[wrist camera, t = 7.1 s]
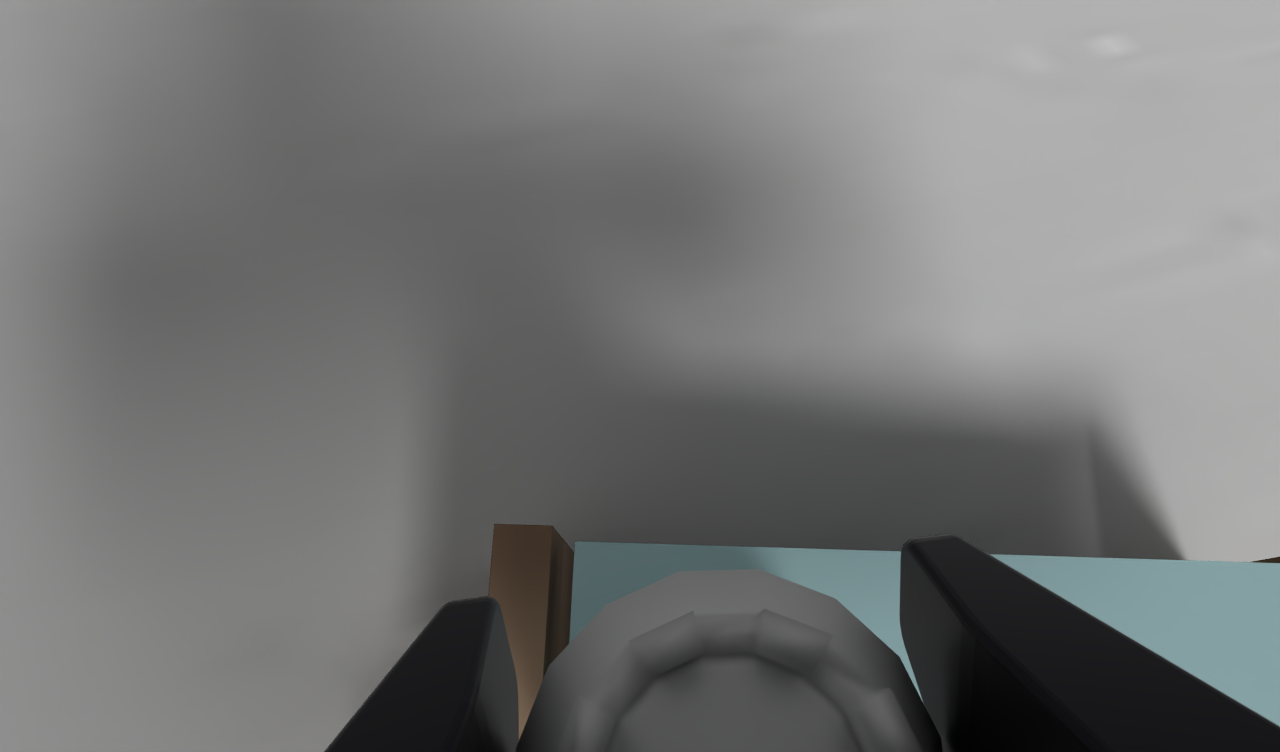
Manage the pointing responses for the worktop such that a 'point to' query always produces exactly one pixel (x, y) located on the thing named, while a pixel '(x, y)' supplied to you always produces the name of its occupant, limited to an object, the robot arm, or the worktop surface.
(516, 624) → the walnut stand
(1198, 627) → the trapdoor flap
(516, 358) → the worktop surface
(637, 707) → the rook chess piece
